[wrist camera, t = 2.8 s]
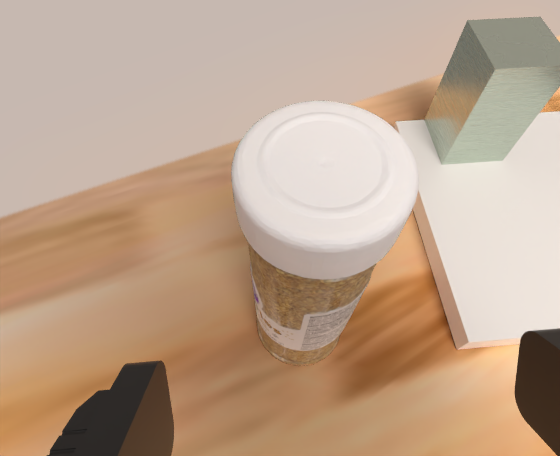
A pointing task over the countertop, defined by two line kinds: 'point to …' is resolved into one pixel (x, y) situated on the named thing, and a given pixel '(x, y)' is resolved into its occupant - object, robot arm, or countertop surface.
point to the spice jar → (318, 217)
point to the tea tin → (493, 88)
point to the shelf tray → (493, 234)
